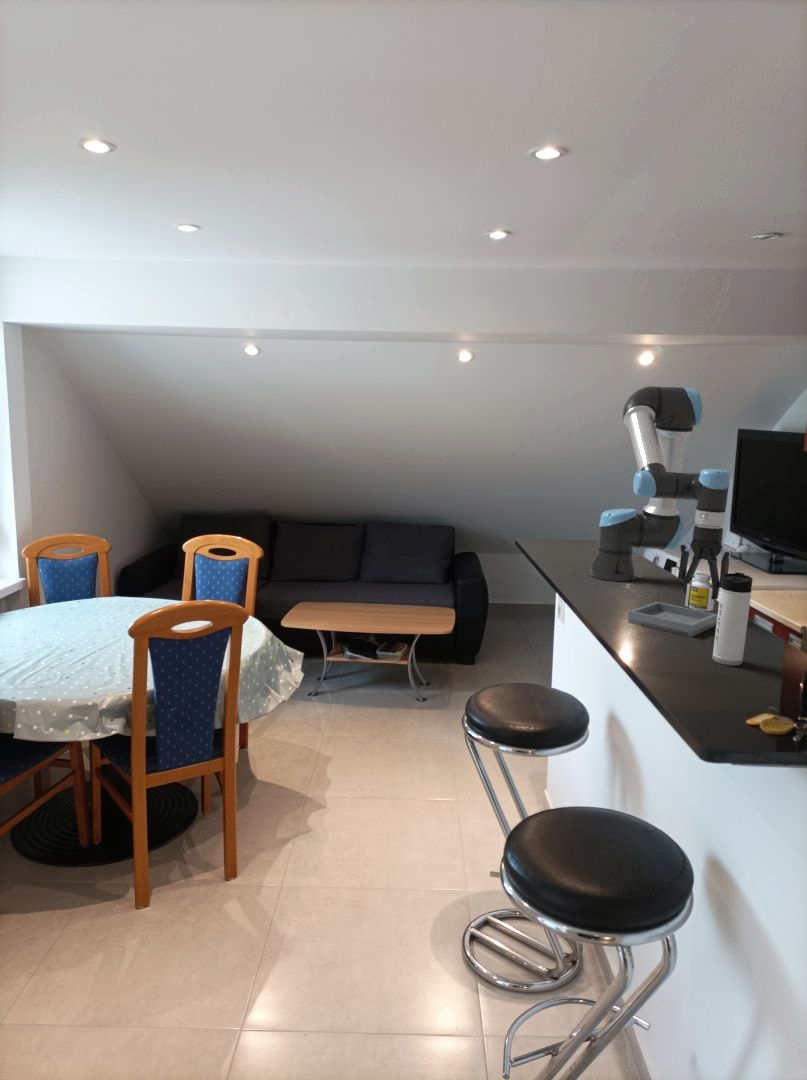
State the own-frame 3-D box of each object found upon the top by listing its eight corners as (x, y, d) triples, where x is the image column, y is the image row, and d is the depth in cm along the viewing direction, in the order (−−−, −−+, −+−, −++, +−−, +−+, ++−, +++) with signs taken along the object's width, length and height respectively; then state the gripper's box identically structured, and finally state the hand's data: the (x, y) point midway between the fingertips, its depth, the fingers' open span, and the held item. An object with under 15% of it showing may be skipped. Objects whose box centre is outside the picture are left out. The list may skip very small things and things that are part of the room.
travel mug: (743, 660, 170) (754, 574, 167) (740, 667, 165) (751, 579, 162) (714, 654, 174) (724, 570, 170) (710, 662, 168) (720, 575, 165)
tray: (655, 612, 211) (656, 601, 211) (716, 625, 200) (717, 614, 199) (627, 622, 199) (628, 611, 198) (690, 637, 187) (692, 625, 187)
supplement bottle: (685, 608, 210) (689, 574, 208) (693, 604, 213) (697, 571, 212) (704, 612, 206) (708, 577, 204) (712, 609, 210) (716, 575, 208)
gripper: (670, 522, 209) (661, 602, 213) (738, 532, 196) (727, 617, 201) (681, 520, 214) (672, 598, 218) (748, 529, 202) (737, 612, 206)
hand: (698, 607), depth 209 cm, fingers closed on supplement bottle, 5 cm apart
